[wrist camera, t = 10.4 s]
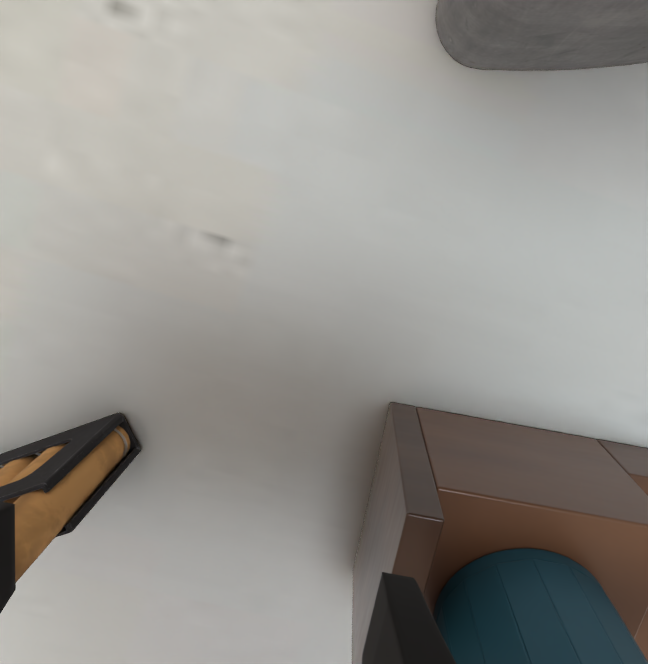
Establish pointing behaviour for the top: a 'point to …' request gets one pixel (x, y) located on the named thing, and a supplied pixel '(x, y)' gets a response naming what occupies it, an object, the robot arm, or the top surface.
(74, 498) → the ammunition clip
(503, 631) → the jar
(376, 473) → the step shelf
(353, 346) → the top surface
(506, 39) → the hip flask
